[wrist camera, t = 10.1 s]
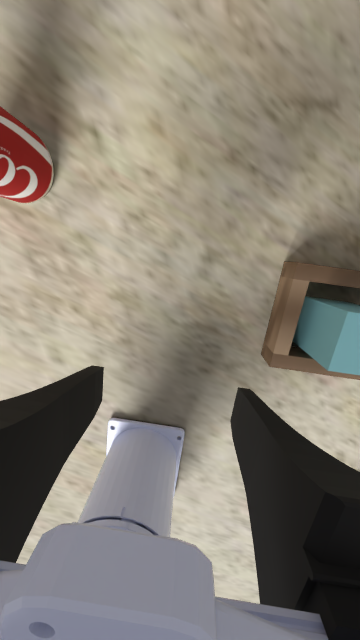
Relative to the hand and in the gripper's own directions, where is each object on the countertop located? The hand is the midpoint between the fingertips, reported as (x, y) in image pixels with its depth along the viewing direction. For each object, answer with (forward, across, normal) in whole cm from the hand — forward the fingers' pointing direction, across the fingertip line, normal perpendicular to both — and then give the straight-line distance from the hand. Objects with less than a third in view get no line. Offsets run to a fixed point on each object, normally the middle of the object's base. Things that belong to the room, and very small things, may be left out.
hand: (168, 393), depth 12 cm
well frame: (+9, -12, -4) cm, 16 cm away
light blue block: (+10, -12, -3) cm, 16 cm away
